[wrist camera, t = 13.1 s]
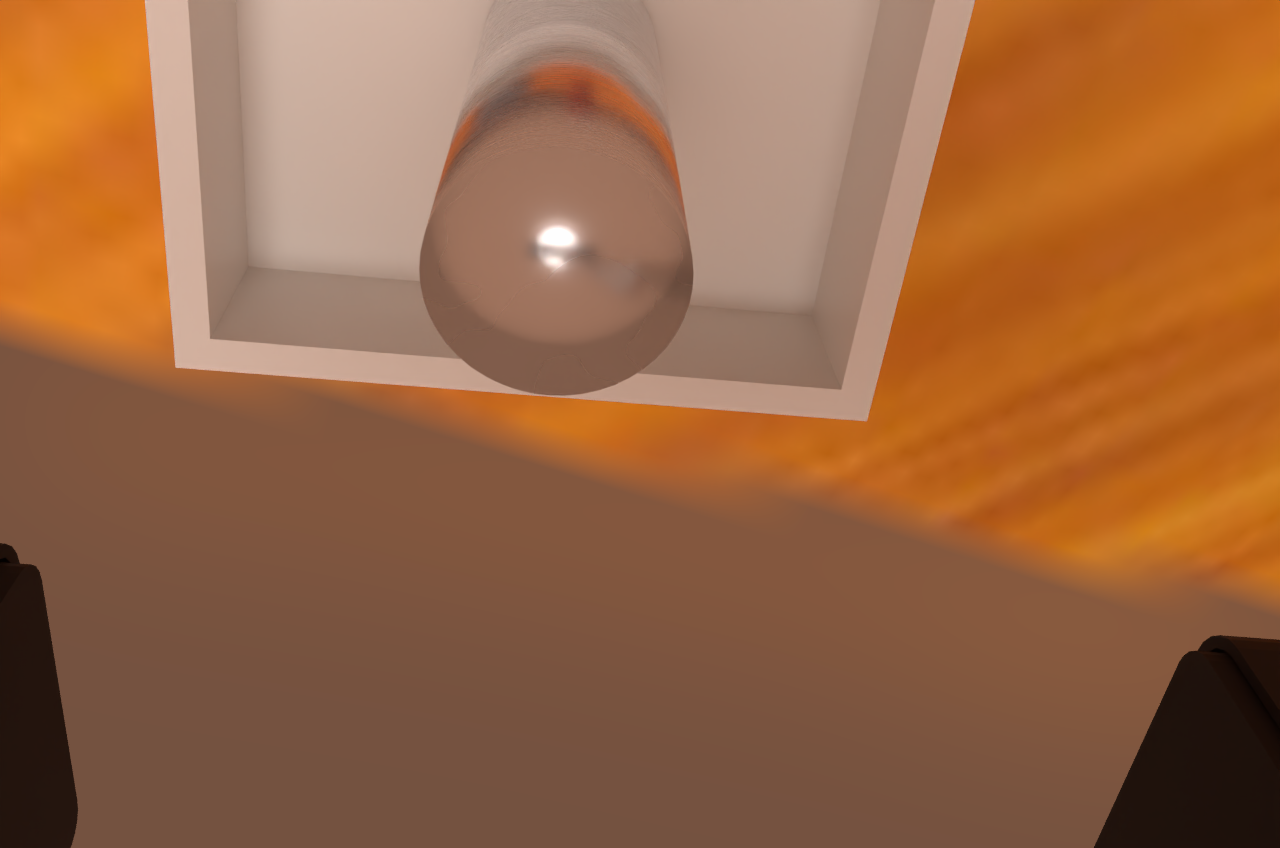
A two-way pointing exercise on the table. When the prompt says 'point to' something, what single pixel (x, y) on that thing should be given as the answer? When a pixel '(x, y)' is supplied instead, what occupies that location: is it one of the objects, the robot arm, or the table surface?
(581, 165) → the pin
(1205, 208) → the table surface
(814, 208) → the tray
